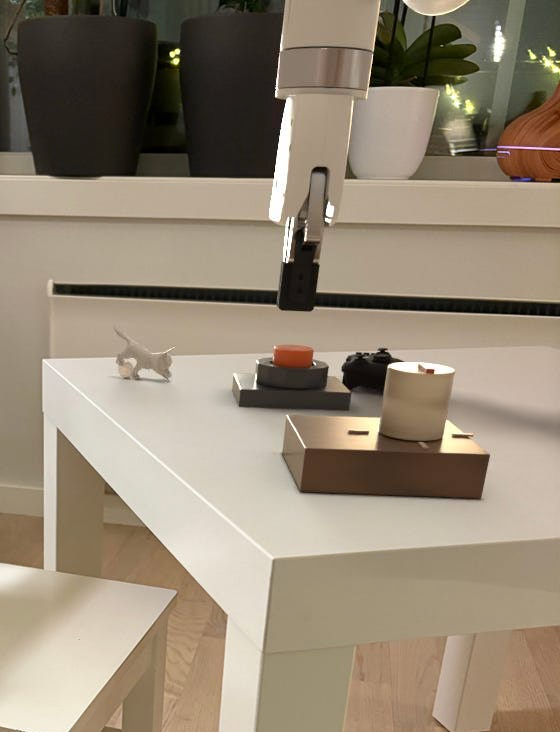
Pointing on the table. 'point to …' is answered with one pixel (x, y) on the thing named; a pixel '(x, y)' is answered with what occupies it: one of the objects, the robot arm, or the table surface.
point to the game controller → (367, 369)
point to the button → (293, 355)
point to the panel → (380, 459)
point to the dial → (416, 401)
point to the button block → (290, 387)
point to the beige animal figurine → (141, 359)
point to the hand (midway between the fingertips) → (294, 309)
